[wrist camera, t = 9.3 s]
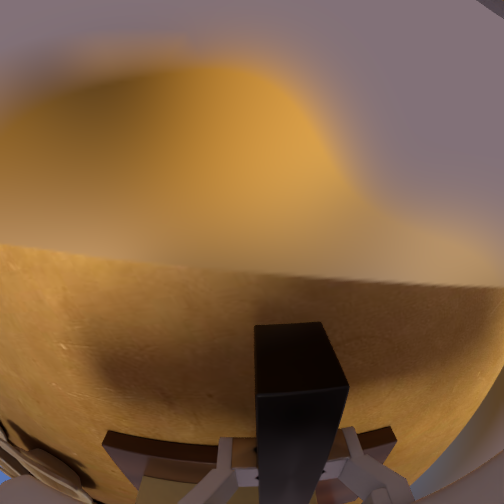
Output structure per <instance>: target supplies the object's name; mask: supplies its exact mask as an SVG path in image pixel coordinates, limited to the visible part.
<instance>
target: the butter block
mask: <svg viewBox="0 0 504 504" xmlns="http://www.w3.org/2000/svg"><path fill="white" fill-rule="evenodd" d="M196 485H197V484H192V483H183V482H176V481H169V480H163V479H158V478H152V477H147V476H143V477H142V481H141V484H140V488H139V491H138V495H137V498H136V502H135V504H177V503H178V501H180V500H181V499H182V498H183V497H184V496H185V495H186V494H187V493H188V492H189V491H190V490H192V489H193V488H194V487H195V486H196ZM226 504H259V492H258V486H255V487H238V489H237V490H236V492H235V493H234V494H233V496H232V497H231V498H230V499H229V501H228V502H227V503H226Z"/></svg>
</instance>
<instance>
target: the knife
mask: <svg viewBox="0 0 504 504" xmlns="http://www.w3.org/2000/svg"><path fill="white" fill-rule="evenodd" d="M254 370H255V410H256V438H257V465H258V474H259V476H258V480H259V486H258V492H259V504H309V502H310V500H311V498H312V496H313V494H314V491H315V489H316V487H317V484H318V482H319V479H320V477H321V475H322V472H323V469H324V467H325V464H326V462H327V459H328V456H329V453H330V451H331V448H332V445H333V442H334V439H335V436H336V433H337V430H338V427H339V424H340V420H341V417H342V414H343V410H344V407H345V403H346V400H347V396H348V392H349V388H350V386H349V383H348V381H347V379H346V376H345V374H344V372H343V370H342V367H341V365H340V363H339V360H338V358H337V356H336V354H335V351H334V349H333V347H332V345H331V342H330V340H329V338H328V336H327V334H326V331H325V329H324V327H323V325H322V323H321V322H307V323H290V324H269V325H255V326H254Z"/></svg>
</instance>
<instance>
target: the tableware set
mask: <svg viewBox="0 0 504 504" xmlns="http://www.w3.org/2000/svg"><path fill="white" fill-rule="evenodd" d="M0 447H2V448H3V449H2V448H0V466H1V467H2V468H1V467H0V470H1V471H2V472H3V473H5V474H6V475H8V476H9V477H11V478H15V477H18V476H22V475H29V472H30V473H31V474H33V475H34V476H35V477H36V478H38V479H39V480H40V481H42V482H43V483H45V484H47V485H48V486H50V487H52V488H54V489H56V490H58V491H60V492H62V493H64V494H66V495H68V496H71V497H73V498H75V499H77V500H80V501H82V502H84V503H87V504H98V503H96V502H94V501H93V499H92V498H91V497H90V495H89V494H88V493H86V492H85V491H84V490H83V489H82V486H81V481H80V477H79V476H78V475H77V474H76V473H75V471H73V470H72V469H71V468H70V467H69V466H67V465H66V464H65V463H64V462H62V461H61V460H59V459H58V458H56V457H54V456H53V455H51V454H50V453H48V452H46V451H44V450H42V449H38V448H36V449H33V450H30V451H26V450H24V449H22V448H19V447H16V446H14V447H13V446H11V445H10V444H9V443H7V437H6V435H5V433H4V431H3V429H2V428H1V426H0ZM3 468H4V469H3Z"/></svg>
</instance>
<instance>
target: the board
mask: <svg viewBox="0 0 504 504" xmlns="http://www.w3.org/2000/svg"><path fill="white" fill-rule="evenodd" d="M357 437H358V439H359V442H360V445H361V447H362V450H363V453H364V455H367V454H368V455H369V456H371V457H372V458H374V459H375V460H377V461H378V462H380V463H381V464H383V463H384V461H385V460H386V458H387V457H388V455H389V454H390V452H391V450H392V449H393V447H394V446H395V444H396V442H397V439H396V437H395V435H394V433H393V431H392V429H391V427H388V428H384V429H380V430H376V431H372V432H368V433H364V434H359V435H357ZM102 446H103V447H104V449H105V450H106V452H107V453H108V454H109V456H110V457H111V458H112V460H113V461H114V462H115V463H116V465H117V466H118V467H119V469H120V470H121V471H122V472H123V473H124V475H125V476H126V477H127V478H128V479H129V481H130V482H131V483H132V484H133V485H134V486H135V487H136V488H137V490H138V491H139V488H140V484H141V481H142V477H143V476H147V477H152V478H158V479H163V480H169V481H176V482H183V483H192V484H198V483H199V482H200V481H201V480H202V479H203V478H204V477H205V476H206V475H207V474H208V473H209V472H210V471H211V470H212V469H216V467H217V456H218V447H215V446H199V445H187V444H178V443H170V442H162V441H156V440H150V439H144V438H139V437H133V436H129V435H124V434H119V433H115V432H111V431H108V432H107V434H106V436H105V438H104V440H103V442H102ZM315 493H316V498H317V504H343V503H347V502H351V501H355V500H356V499H357V498H358V497H359V496H357V495H356V494H355V493H354V492H353V491H352V490H350V489H349V488H348V487H347V486H346V485H345V484H344V483H343V482H341V481H340V480H339V479H338V478H334V479H328V480H321V481H319V482H318V484H317V487H316V489H315Z"/></svg>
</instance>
